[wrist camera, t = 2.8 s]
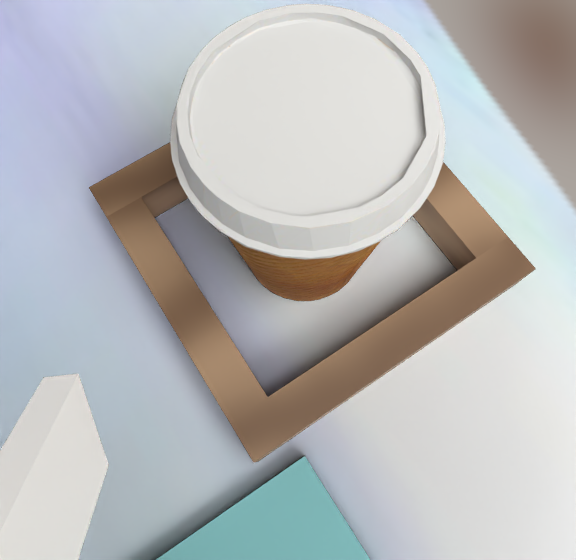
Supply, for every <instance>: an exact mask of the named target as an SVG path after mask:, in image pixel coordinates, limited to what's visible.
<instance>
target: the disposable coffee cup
mask: <svg viewBox="0 0 576 560" xmlns="http://www.w3.org/2000/svg"><path fill="white" fill-rule="evenodd" d="M170 144H171V154H172V161H173V164H174V167H175V170H176V173H177V176H178V179H179V182H180V184H181V186H182V188H183V190H184V191H185V193H186V195H187V196H188V198H189V200H190V201H191V203H192V204H193V205H194V207H195V208H196V209H197V211H198V212H199V213H200V214H201V215H202V216H203V217H204V218H205V219H206V220H207V221H208V222H209V223H211V224H212V225H213V226H214V227H215V228H216V229H217V230H218V231H220V232H222V233H223V234H225V235H227V236H228V238H229V239H230V241H231V242H232V243H233V245H234V247H235V248H236V249H237V251H238V252H239V254H240V255H241V256H242V258H243V259H244V261H245V262H246V263H247V265H248V266H249V268H250V269H251V271H252V272H253V274H254V275H255V277H256V278H257V280H258V281H259V282H260V283H261V284H262V285H263V286H264V287H265V288H267V289H268V290H270V291H271V292H272V293H274V294H276V295H278V296H281V297H283V298H286V299H291V300H296V301H313V300H319V299H321V298H324V297H327V296H330V295H332V294H334V293H336V292H337V291H339V290H340V289H341V288H342V287H344V286H345V285H346V284H347V283H348V282H349V281H350V279H351V278H352V277H353V275H354V274H355V273H356V271H357V270H358V269H359V267H360V266H361V265H362V264H363V262H364V261H365V260H366V259H367V257H368V256H369V255H370V254H371V253H372V251H373V250H374V249H375V248H376V246H377V245H378V244H379V242H380V241H381V240H382V239H384V238H386V237H387V236H389V235H391V234H392V233H394V232H396V231H397V230H398V229H399V228H400V227H401V226H402V225H403V224H404V223H405V222H406V221H407V220H408V219H410V218H411V217H412V216H413V215H414V214H415V213H416V212H417V211H418V210H419V209H420V208H421V206H422V205H423V203H424V202H425V200H426V198H427V197H428V195H429V194H430V192H431V191H432V189H433V188H434V186H435V183H436V180H437V178H438V175H439V172H440V170H441V167H442V164H443V158H444V150H445V125H444V120H443V117H442V113H441V109H440V103H439V99H438V94H437V89H436V85H435V82H434V80H433V78H432V76H431V74H430V71H429V69H428V67H427V66H426V64H425V63H424V61H423V60H422V58H421V57H420V55H419V54H418V53H417V52H416V51H415V50H414V49H413V48H412V46H411V45H410V44H409V43H408V42H407V41H406V40H405V39H404V38H403V37H402V36H401V35H400V34H398V33H397V32H395V31H393V30H392V29H390V28H389V27H387V26H385V25H384V24H382V23H381V22H379V21H378V20H376V19H374V18H371V17H369V16H366V15H364V14H361V13H359V12H356V11H354V10H349V9H344V8H340V7H335V6H330V5H319V4H296V5H287V6H282V7H277V8H272V9H267V10H264V11H261V12H258V13H256V14H253V15H250V16H248V17H245V18H243V19H241V20H240V21H238V22H236V23H234V24H232V25H230V26H229V27H228V28H226V29H225V30H223V31H222V32H221V33H219V34H218V35H216V36H215V37H214V38H213V39H212V40H211V41H210V42H209V43H208V44H207V45H206V46H205V47H204V48H203V49H202V50H201V51H200V53H199V54H198V56H197V57H196V58H195V60H194V61H193V63H192V64H191V66H190V67H189V69H188V71H187V73H186V76H185V78H184V81H183V83H182V86H181V89H180V93H179V97H178V101H177V104H176V107H175V111H174V114H173V117H172V124H171V135H170Z"/></svg>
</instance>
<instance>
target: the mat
mask: <svg viewBox="0 0 576 560" xmlns="http://www.w3.org/2000/svg"><path fill="white" fill-rule="evenodd" d="M156 560H370V559H369V557H368V555H367V554H366V552H365V551H364V549H363V547H362V546H361V544H360V543H359V541H358V540H357V538H356V536H355V535H354V533H353V532H352V530H351V528H350V527H349V525H348V524H347V522H346V521H345V519H344V517H343V516H342V514H341V513H340V511H339V509H338V508H337V506H336V505H335V503H334V502H333V500H332V498H331V497H330V495H329V494H328V492H327V490H326V489H325V487H324V486H323V484H322V483H321V481H320V479H319V478H318V476H317V475H316V473H315V471H314V470H313V468H312V467H311V465H310V464H309V462H308V460H307V459H306V457H305V456H304V457H302V458H301V459H299V460H298V461H296V462H295V463H293V464H292V465H291V466H289V467H288V468H286V469H285V470H283V471H282V472H281V473H279V474H278V475H276V476H275V477H273V478H272V479H271V480H269V481H268V482H266V483H265V484H263V485H262V486H261V487H259V488H258V489H256V490H255V491H253V492H252V493H251V494H249V495H248V496H246V497H245V498H243V499H242V500H240V501H239V502H238V503H236V504H235V505H233V506H232V507H230V508H229V509H228V510H226V511H225V512H223V513H222V514H220V515H219V516H218V517H216V518H215V519H213V520H212V521H210V522H209V523H208V524H206V525H205V526H203V527H202V528H200V529H199V530H197V531H196V532H195V533H193V534H192V535H190V536H189V537H187V538H186V539H185V540H183V541H182V542H180V543H179V544H177V545H176V546H175V547H173V548H172V549H170V550H169V551H167V552H166V553H165V554H163V555H162V556H160V557H159V558H157V559H156Z"/></svg>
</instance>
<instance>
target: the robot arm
mask: <svg viewBox="0 0 576 560" xmlns="http://www.w3.org/2000/svg"><path fill="white" fill-rule="evenodd" d="M108 467H109V464H108V461H107V458H106V455H105V452H104V449H103V446H102V443H101V440H100V437H99V434H98V431H97V428H96V425H95V422H94V419H93V416H92V413H91V410H90V407H89V404H88V401H87V398H86V395H85V392H84V389H83V386H82V383H81V380H80V377H79V374H70V375H61V376H52V377H43V379H42V381H41V382H40V384H39V386H38V387H37V389H36V391H35V393H34V394H33V396H32V398H31V399H30V401H29V403H28V404H27V406H26V408H25V409H24V411H23V413H22V415H21V416H20V418H19V420H18V421H17V423H16V425H15V426H14V428H13V430H12V431H11V433H10V435H9V437H8V438H7V440H6V442H5V443H4V445H3V447H2V448H1V450H0V560H78V559H79V556H80V553H81V550H82V547H83V544H84V540H85V537H86V534H87V531H88V528H89V525H90V522H91V519H92V516H93V513H94V510H95V507H96V503H97V500H98V497H99V494H100V491H101V488H102V485H103V482H104V479H105V476H106V473H107V470H108Z"/></svg>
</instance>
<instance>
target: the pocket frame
mask: <svg viewBox="0 0 576 560" xmlns="http://www.w3.org/2000/svg"><path fill="white" fill-rule="evenodd" d="M89 189H90V190H91V192H92V194H93V195H94V197H95V199H96V200H97V202H98V204H99V205H100V207H101V209H102V210H103V212H104V214H105V215H106V217H107V219H108V220H109V222H110V224H111V225H112V227H113V229H114V230H115V232H116V234H117V235H118V237H119V239H120V240H121V242H122V244H123V245H124V247H125V249H126V250H127V252H128V254H129V255H130V257H131V259H132V260H133V262H134V264H135V265H136V267H137V269H138V270H139V272H140V274H141V275H142V277H143V279H144V280H145V282H146V284H147V285H148V287H149V289H150V290H151V292H152V294H153V295H154V297H155V299H156V300H157V302H158V304H159V305H160V307H161V309H162V310H163V312H164V314H165V316H166V317H167V319H168V321H169V322H170V324H171V326H172V327H173V329H174V331H175V332H176V334H177V336H178V337H179V339H180V341H181V342H182V344H183V346H184V347H185V349H186V351H187V352H188V354H189V356H190V357H191V359H192V361H193V362H194V364H195V366H196V367H197V369H198V371H199V372H200V374H201V376H202V377H203V379H204V381H205V382H206V384H207V386H208V387H209V389H210V391H211V392H212V394H213V396H214V397H215V399H216V401H217V402H218V404H219V406H220V407H221V409H222V411H223V412H224V414H225V416H226V417H227V419H228V421H229V422H230V424H231V426H232V427H233V429H234V431H235V432H236V434H237V436H238V437H239V439H240V441H241V442H242V444H243V446H244V447H245V449H246V451H247V452H248V454H249V456H250V457H251V459H252V461H253V462H258V461H260V460H261V459H263V458H264V457H265V456H267V455H268V454H270V453H271V452H273V451H274V450H276V449H277V448H279V447H280V446H281V445H283V444H284V443H286V442H287V441H289V440H290V439H292V438H293V437H294V436H296V435H297V434H299V433H300V432H302V431H303V430H305V429H306V428H308V427H309V426H310V425H312V424H313V423H315V422H316V421H318V420H319V419H321V418H322V417H324V416H325V415H326V414H328V413H329V412H331V411H332V410H334V409H335V408H337V407H338V406H340V405H341V404H342V403H344V402H345V401H347V400H348V399H350V398H351V397H353V396H354V395H356V394H357V393H358V392H360V391H361V390H363V389H364V388H366V387H367V386H369V385H370V384H372V383H373V382H374V381H376V380H377V379H379V378H380V377H382V376H383V375H385V374H386V373H387V372H389V371H390V370H392V369H393V368H395V367H396V366H398V365H399V364H401V363H402V362H403V361H405V360H406V359H408V358H409V357H411V356H412V355H414V354H415V353H417V352H418V351H419V350H421V349H422V348H424V347H425V346H427V345H428V344H430V343H431V342H433V341H434V340H435V339H437V338H438V337H440V336H441V335H443V334H444V333H446V332H447V331H449V330H450V329H451V328H453V327H454V326H456V325H457V324H459V323H460V322H462V321H463V320H465V319H466V318H467V317H469V316H470V315H472V314H473V313H475V312H476V311H478V310H479V309H480V308H482V307H483V306H485V305H486V304H488V303H489V302H491V301H492V300H494V299H495V298H496V297H498V296H499V295H501V294H502V293H504V292H505V291H507V290H508V289H510V288H511V287H512V286H514V285H515V284H517V283H518V282H519V281H521V280H522V279H523V278H524V277H526V276H527V275H528V274H530V273H531V272H532V271H534V270H535V267H534V266H533V265H532V264H531V263H530V262H529V260H528V259H527V258H526V257H525V256H524V255H523V254H522V252H521V251H520V250H519V249H518V248H517V247H516V245H515V244H514V243H513V242H512V241H511V240H510V239H509V237H508V236H507V235H506V234H505V233H504V232H503V230H502V229H501V228H500V227H499V226H498V225H497V223H496V222H495V221H494V220H493V219H492V218H491V217H490V215H489V214H488V213H487V212H486V211H485V210H484V208H483V207H482V206H481V205H480V204H479V203H478V202H477V200H476V199H475V198H474V197H473V196H472V195H471V193H470V192H469V191H468V190H467V189H466V188H465V186H464V185H463V184H462V183H461V182H460V181H459V180H458V178H457V177H456V176H455V175H454V174H453V173H452V171H451V170H450V169H449V168H448V167H447V166H446V165H445V163H444V162H443V164H442V167H441V170H440V172H439V175H438V178H437V180H436V183H435V186H434V188H433V189H432V191H431V192H430V194H429V195H428V197H427V198H426V200H425V202H424V203H423V205H422V206H421V208H420V209H419V210H418V211H417V212H416V213H415V214H414V215H413V216H414V218H415V219H416V220H417V221H418V222H419V224H420V225H421V226H422V227H423V229H424V230H425V231H426V232H427V234H428V235H429V236H430V237H431V238H432V240H433V241H434V242H435V243H436V245H437V246H438V247H439V248H440V250H441V251H442V252H443V253H444V254H445V256H446V257H447V258H448V259H449V261H450V262H451V263H452V264H453V266H454V267H455V268H456V269H457V271H456V272H455V273H453V274H452V275H450V276H449V277H447V278H446V279H444V280H443V281H441V282H440V283H438V284H437V285H435V286H434V287H432V288H431V289H429V290H428V291H426V292H425V293H423V294H422V295H420V296H419V297H417V298H416V299H414V300H413V301H411V302H410V303H408V304H407V305H405V306H404V307H402V308H401V309H399V310H398V311H396V312H395V313H393V314H392V315H390V316H389V317H387V318H386V319H384V320H383V321H381V322H380V323H378V324H377V325H375V326H374V327H372V328H371V329H369V330H368V331H366V332H365V333H363V334H362V335H360V336H359V337H357V338H356V339H354V340H353V341H351V342H350V343H348V344H347V345H345V346H344V347H342V348H341V349H339V350H338V351H336V352H335V353H333V354H332V355H330V356H329V357H327V358H326V359H324V360H323V361H321V362H320V363H318V364H317V365H315V366H314V367H312V368H311V369H309V370H308V371H306V372H305V373H303V374H302V375H300V376H299V377H297V378H296V379H294V380H293V381H291V382H290V383H288V384H287V385H285V386H284V387H282V388H281V389H279V390H278V391H276V392H275V393H273V394H272V395H270V396H269V397H267V395H266V394H265V392H264V390H263V389H262V387H261V386H260V384H259V382H258V381H257V379H256V378H255V376H254V375H253V373H252V371H251V370H250V368H249V367H248V365H247V363H246V362H245V360H244V359H243V357H242V356H241V354H240V352H239V351H238V349H237V348H236V346H235V344H234V343H233V341H232V340H231V338H230V337H229V335H228V333H227V332H226V330H225V329H224V327H223V326H222V324H221V322H220V321H219V319H218V318H217V316H216V314H215V313H214V311H213V310H212V308H211V307H210V305H209V303H208V302H207V300H206V299H205V297H204V295H203V294H202V292H201V291H200V289H199V288H198V286H197V284H196V283H195V281H194V280H193V278H192V276H191V275H190V273H189V272H188V270H187V269H186V267H185V265H184V264H183V262H182V261H181V259H180V257H179V256H178V254H177V253H176V251H175V250H174V248H173V246H172V245H171V243H170V242H169V240H168V238H167V237H166V235H165V234H164V232H163V231H162V229H161V227H160V226H159V224H158V223H157V221H156V220H155V217H157V216H158V215H160V214H162V213H164V212H165V211H167V210H169V209H170V208H172V207H174V206H176V205H177V204H179V203H181V202H183V201H184V200H186V199H188V196H187V195H186V193H185V191H184V190H183V188H182V186H181V184H180V182H179V179H178V176H177V173H176V170H175V167H174V164H173V161H172V154H171V144H170V143H168V144H166V145H164V146H162V147H161V148H159V149H157V150H155V151H153V152H152V153H150V154H148V155H146V156H144V157H143V158H141V159H139V160H137V161H135V162H134V163H132V164H130V165H128V166H126V167H125V168H123V169H121V170H119V171H117V172H116V173H114V174H112V175H110V176H108V177H107V178H105V179H103V180H101V181H99V182H98V183H96V184H94V185H92V186H90V187H89Z"/></svg>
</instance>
